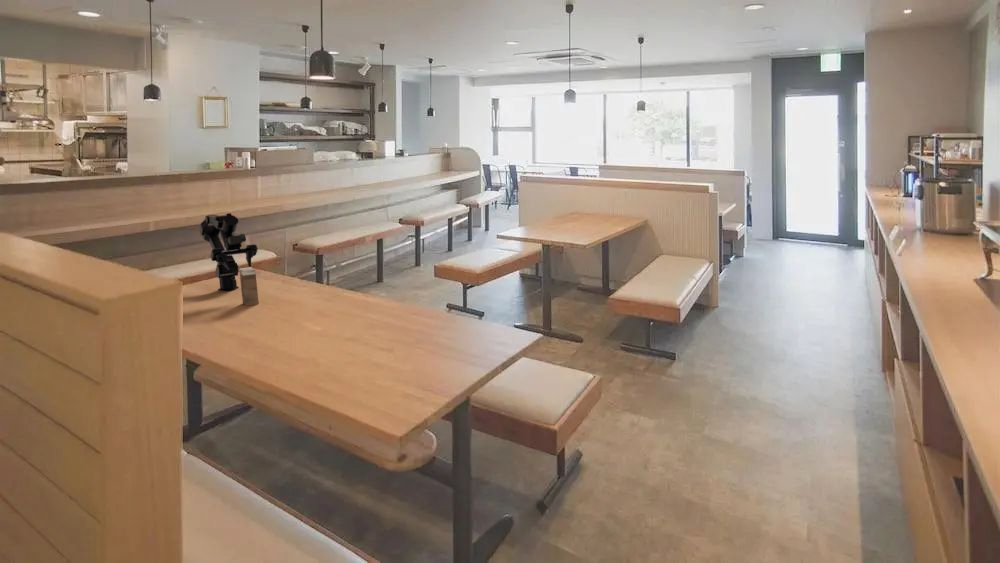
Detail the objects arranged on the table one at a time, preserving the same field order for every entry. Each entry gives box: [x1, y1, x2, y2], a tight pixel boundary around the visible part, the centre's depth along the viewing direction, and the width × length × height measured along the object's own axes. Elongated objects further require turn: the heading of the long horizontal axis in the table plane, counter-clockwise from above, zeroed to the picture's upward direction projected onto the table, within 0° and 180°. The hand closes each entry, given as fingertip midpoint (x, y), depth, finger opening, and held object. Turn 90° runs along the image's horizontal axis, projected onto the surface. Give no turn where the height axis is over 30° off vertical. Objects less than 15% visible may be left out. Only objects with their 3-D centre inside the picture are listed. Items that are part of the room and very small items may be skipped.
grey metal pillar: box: [238, 266, 259, 307], centre depth 262 cm, size 5×5×15 cm
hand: (240, 268), depth 270 cm, fingers open, 8 cm apart
